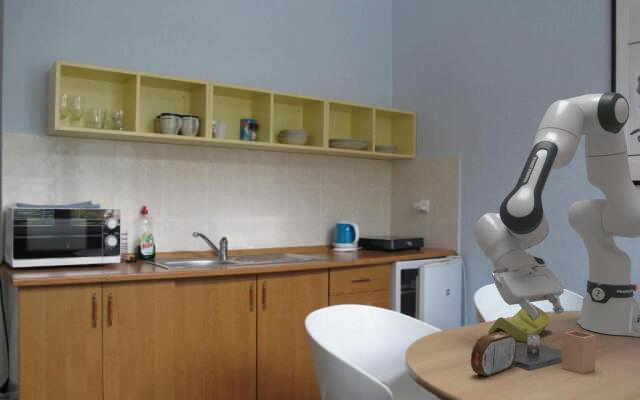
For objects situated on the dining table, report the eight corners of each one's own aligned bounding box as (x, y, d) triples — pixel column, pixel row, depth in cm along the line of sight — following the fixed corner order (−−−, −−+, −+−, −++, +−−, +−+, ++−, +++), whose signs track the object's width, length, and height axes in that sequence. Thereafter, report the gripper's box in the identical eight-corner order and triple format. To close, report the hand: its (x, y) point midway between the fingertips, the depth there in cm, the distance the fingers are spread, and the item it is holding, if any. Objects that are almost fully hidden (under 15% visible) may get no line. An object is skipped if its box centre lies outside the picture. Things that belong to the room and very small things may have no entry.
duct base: (531, 346, 143) (532, 326, 143) (574, 358, 133) (575, 337, 133) (485, 356, 133) (486, 334, 133) (529, 370, 123) (529, 347, 123)
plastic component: (528, 335, 145) (496, 313, 151) (516, 357, 148) (485, 335, 154) (555, 318, 160) (525, 299, 166) (544, 338, 162) (515, 319, 168)
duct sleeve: (574, 364, 128) (575, 330, 128) (594, 370, 124) (596, 335, 124) (561, 367, 126) (562, 332, 126) (582, 374, 121) (583, 338, 121)
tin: (505, 364, 127) (507, 328, 127) (518, 367, 125) (519, 330, 125) (468, 377, 117) (470, 338, 117) (481, 381, 115) (483, 341, 115)
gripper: (496, 262, 131) (531, 311, 123) (548, 259, 143) (582, 303, 135) (481, 278, 135) (513, 326, 127) (532, 273, 146) (564, 317, 138)
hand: (549, 314), depth 131 cm, fingers open, 8 cm apart
